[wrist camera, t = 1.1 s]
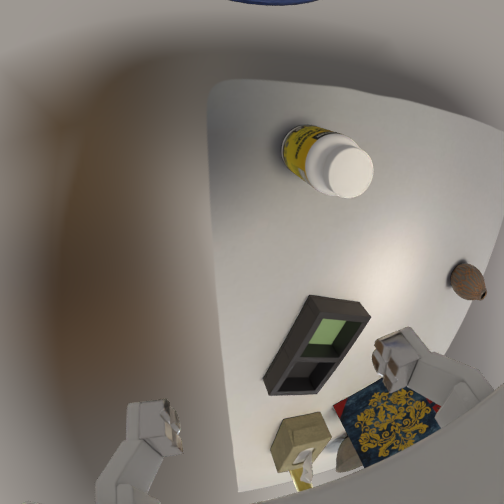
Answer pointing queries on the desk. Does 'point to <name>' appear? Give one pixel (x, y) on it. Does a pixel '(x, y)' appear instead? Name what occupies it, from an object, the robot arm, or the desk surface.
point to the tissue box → (300, 444)
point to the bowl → (347, 457)
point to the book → (386, 420)
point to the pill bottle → (327, 161)
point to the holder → (315, 346)
